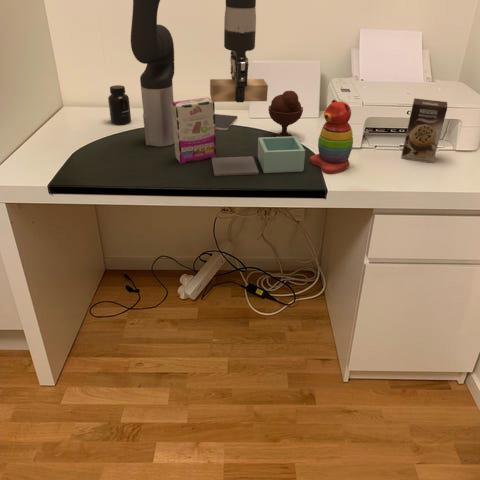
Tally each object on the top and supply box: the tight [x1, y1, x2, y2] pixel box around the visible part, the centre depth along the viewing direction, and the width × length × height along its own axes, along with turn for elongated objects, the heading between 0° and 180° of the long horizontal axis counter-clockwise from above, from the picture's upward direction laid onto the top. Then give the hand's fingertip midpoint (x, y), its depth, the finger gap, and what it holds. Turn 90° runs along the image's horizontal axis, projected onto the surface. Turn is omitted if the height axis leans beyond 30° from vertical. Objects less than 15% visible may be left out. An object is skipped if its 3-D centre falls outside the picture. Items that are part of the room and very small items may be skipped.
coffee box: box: [400, 97, 448, 163], centre depth 134 cm, size 9×6×16 cm
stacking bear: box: [308, 99, 354, 175], centre depth 128 cm, size 11×10×18 cm
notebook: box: [215, 113, 238, 131], centre depth 163 cm, size 13×2×21 cm
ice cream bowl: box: [268, 90, 304, 137], centre depth 147 cm, size 11×11×15 cm
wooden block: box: [209, 78, 269, 103], centre depth 120 cm, size 14×6×4 cm, turn 98°
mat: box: [210, 155, 260, 177], centre depth 131 cm, size 12×11×1 cm
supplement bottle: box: [107, 84, 132, 126], centre depth 158 cm, size 7×7×12 cm
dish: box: [257, 135, 306, 174], centre depth 131 cm, size 11×11×6 cm
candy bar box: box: [171, 97, 217, 164], centre depth 131 cm, size 11×5×16 cm, turn 115°
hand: (238, 97), depth 121 cm, fingers closed on wooden block, 6 cm apart
